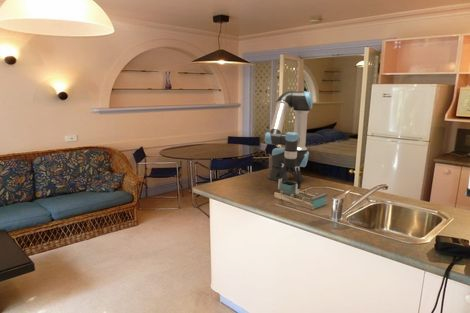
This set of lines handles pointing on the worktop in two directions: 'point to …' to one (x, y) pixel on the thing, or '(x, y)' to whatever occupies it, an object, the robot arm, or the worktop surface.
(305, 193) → the guide rails
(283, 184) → the flower pot
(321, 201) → the teal flat block
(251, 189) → the worktop surface
